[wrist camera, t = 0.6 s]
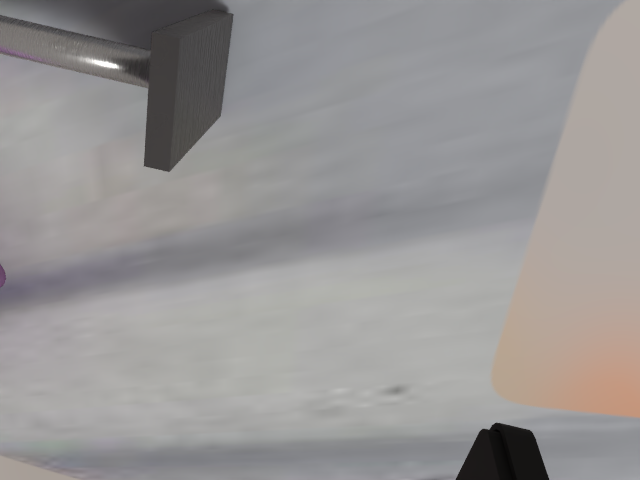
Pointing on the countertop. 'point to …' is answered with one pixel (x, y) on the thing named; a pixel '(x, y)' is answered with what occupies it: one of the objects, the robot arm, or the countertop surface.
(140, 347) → the countertop surface
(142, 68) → the plunger rod
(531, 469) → the robot arm
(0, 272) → the teapot
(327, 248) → the countertop surface
